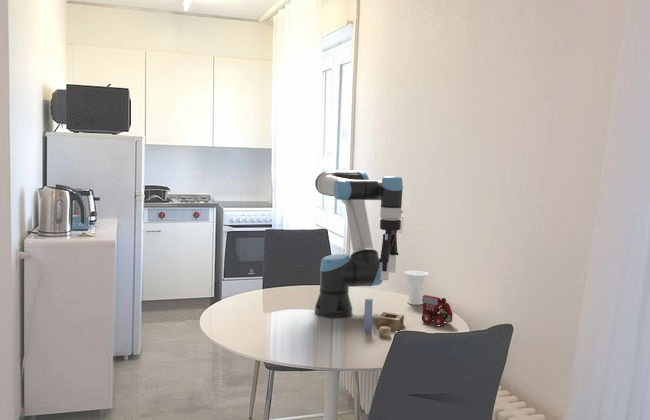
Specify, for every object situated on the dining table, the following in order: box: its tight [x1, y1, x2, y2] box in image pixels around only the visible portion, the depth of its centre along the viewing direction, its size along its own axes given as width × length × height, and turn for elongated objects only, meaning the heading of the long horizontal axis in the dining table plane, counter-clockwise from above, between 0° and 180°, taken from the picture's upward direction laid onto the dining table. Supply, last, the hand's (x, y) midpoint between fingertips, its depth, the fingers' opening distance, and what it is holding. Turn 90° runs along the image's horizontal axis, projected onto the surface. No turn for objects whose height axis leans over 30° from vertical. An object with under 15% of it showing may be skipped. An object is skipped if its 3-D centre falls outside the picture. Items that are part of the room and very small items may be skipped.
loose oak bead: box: [378, 326, 392, 339], centre depth 203 cm, size 4×4×3 cm
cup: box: [403, 269, 429, 306], centre depth 249 cm, size 10×10×14 cm
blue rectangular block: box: [363, 298, 374, 334], centre depth 207 cm, size 3×3×12 cm
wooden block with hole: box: [377, 311, 405, 331], centre depth 215 cm, size 8×8×4 cm
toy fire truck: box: [421, 294, 454, 327], centre depth 220 cm, size 7×12×10 cm, turn 54°
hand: (388, 276), depth 209 cm, fingers open, 13 cm apart
